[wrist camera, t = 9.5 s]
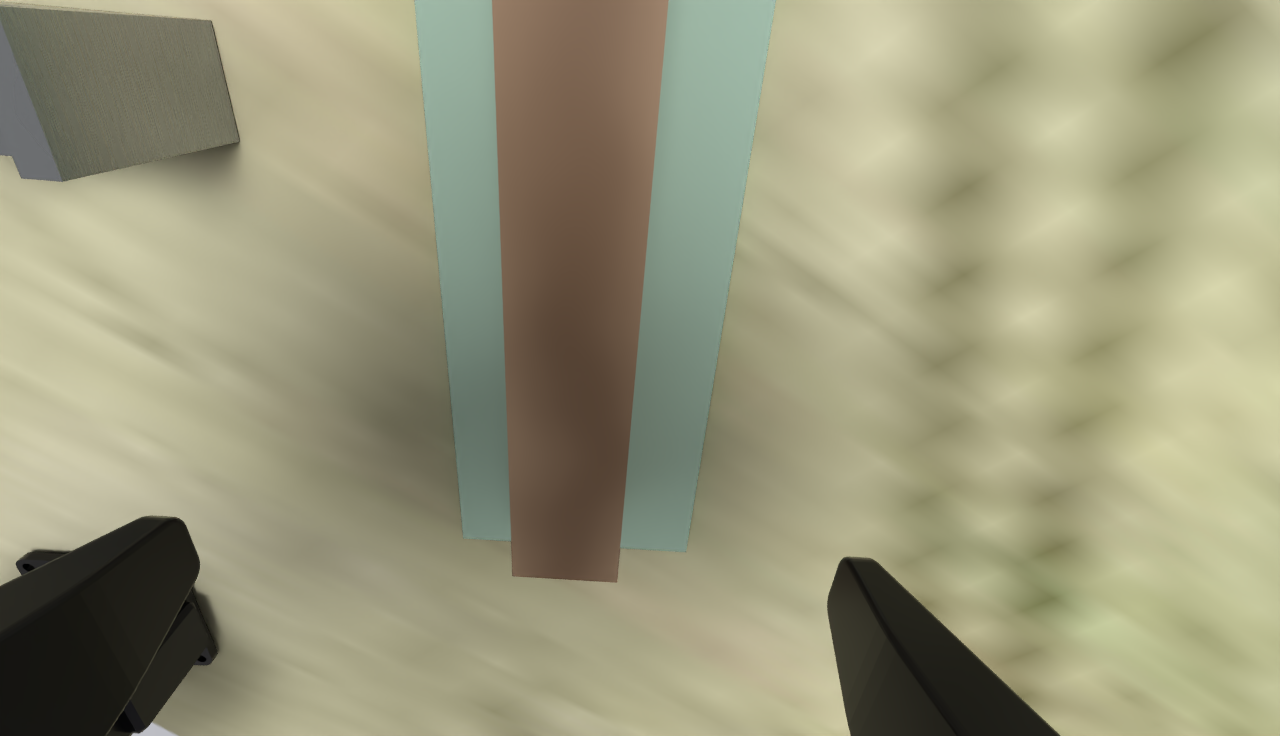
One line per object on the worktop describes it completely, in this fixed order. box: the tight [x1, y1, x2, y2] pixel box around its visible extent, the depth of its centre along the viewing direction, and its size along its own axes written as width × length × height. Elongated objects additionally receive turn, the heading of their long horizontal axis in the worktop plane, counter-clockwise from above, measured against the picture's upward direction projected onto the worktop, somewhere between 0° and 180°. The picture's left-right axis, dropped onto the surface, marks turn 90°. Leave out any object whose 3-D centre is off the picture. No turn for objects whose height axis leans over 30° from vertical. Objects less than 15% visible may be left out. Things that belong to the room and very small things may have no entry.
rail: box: [492, 0, 669, 582], centre depth 16 cm, size 4×20×4 cm, turn 175°
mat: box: [414, 0, 776, 552], centre depth 18 cm, size 9×24×1 cm, turn 175°
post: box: [0, 2, 240, 182], centre depth 13 cm, size 6×3×6 cm, turn 85°
